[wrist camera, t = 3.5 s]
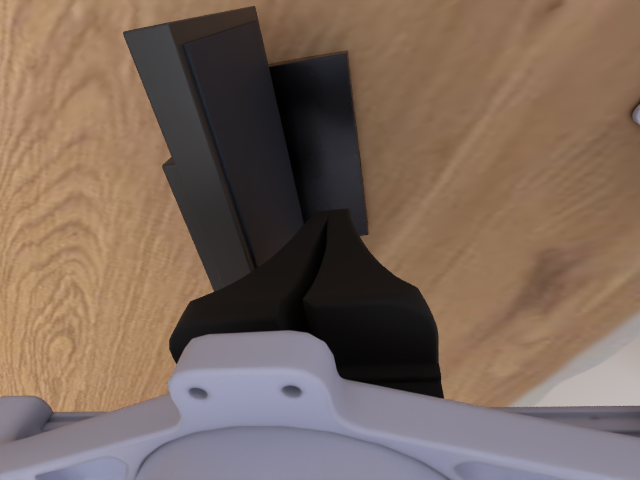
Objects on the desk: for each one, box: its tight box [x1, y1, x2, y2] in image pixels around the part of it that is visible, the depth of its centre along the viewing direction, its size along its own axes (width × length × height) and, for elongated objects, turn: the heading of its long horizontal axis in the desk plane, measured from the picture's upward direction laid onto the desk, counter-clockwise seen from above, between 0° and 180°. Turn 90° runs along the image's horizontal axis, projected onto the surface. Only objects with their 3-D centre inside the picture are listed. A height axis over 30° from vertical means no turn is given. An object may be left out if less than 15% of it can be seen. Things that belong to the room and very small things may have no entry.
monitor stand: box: [268, 51, 368, 236], centre depth 20 cm, size 9×10×4 cm
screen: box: [123, 6, 304, 292], centre depth 16 cm, size 2×15×8 cm, turn 10°
